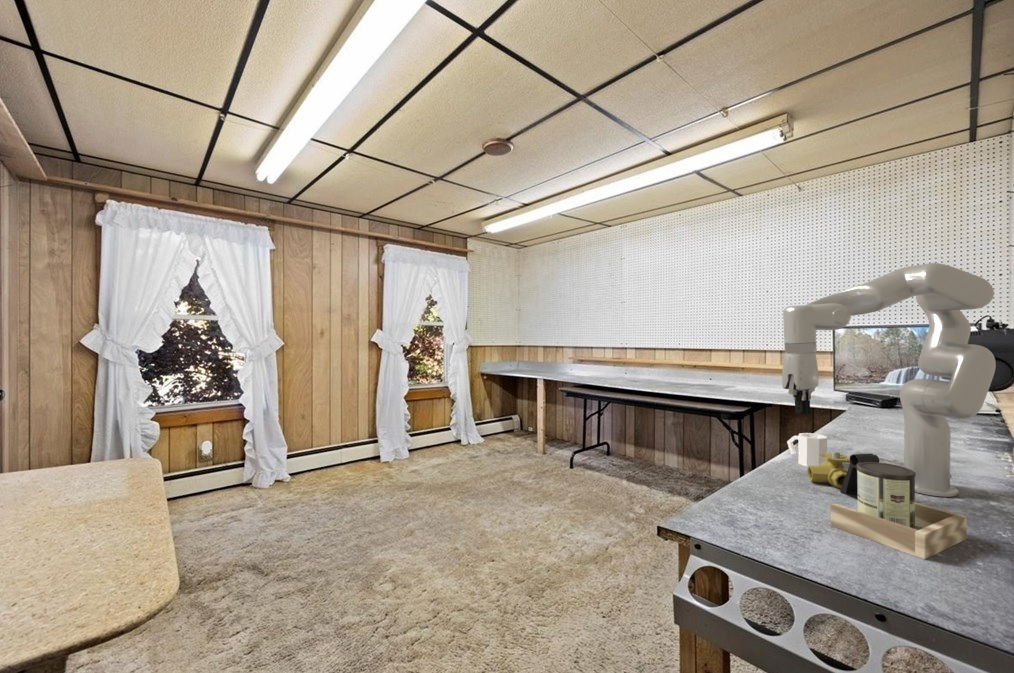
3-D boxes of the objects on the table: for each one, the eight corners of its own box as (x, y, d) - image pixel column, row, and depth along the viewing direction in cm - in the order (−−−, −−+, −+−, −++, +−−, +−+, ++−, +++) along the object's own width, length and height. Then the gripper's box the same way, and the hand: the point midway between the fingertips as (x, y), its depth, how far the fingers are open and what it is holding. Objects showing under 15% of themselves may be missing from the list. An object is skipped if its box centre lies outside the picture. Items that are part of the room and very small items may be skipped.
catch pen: (874, 510, 111) (874, 490, 111) (966, 538, 95) (966, 516, 95) (830, 525, 103) (830, 504, 102) (924, 559, 87) (924, 534, 87)
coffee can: (881, 517, 107) (881, 460, 107) (928, 537, 97) (928, 473, 96) (845, 520, 105) (845, 462, 105) (889, 541, 95) (889, 476, 95)
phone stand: (890, 504, 115) (890, 458, 115) (869, 505, 114) (869, 459, 114) (859, 491, 124) (859, 449, 124) (840, 492, 123) (840, 450, 123)
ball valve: (859, 493, 123) (859, 458, 123) (816, 489, 126) (816, 455, 126) (840, 478, 135) (840, 446, 135) (802, 475, 138) (802, 444, 138)
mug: (832, 465, 148) (832, 436, 147) (820, 469, 143) (820, 440, 143) (793, 456, 158) (793, 429, 158) (781, 460, 153) (781, 433, 153)
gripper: (801, 347, 130) (803, 408, 130) (770, 350, 123) (773, 415, 123) (829, 347, 123) (832, 412, 123) (798, 351, 116) (801, 419, 117)
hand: (802, 413), depth 123 cm, fingers closed
